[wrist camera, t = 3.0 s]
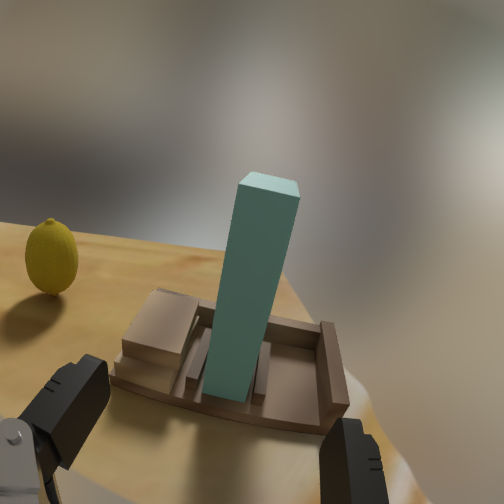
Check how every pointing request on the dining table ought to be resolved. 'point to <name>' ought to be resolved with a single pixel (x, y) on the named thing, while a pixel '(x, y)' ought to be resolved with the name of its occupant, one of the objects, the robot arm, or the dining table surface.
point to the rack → (267, 377)
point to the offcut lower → (150, 370)
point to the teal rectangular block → (249, 281)
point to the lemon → (51, 257)
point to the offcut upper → (161, 330)
